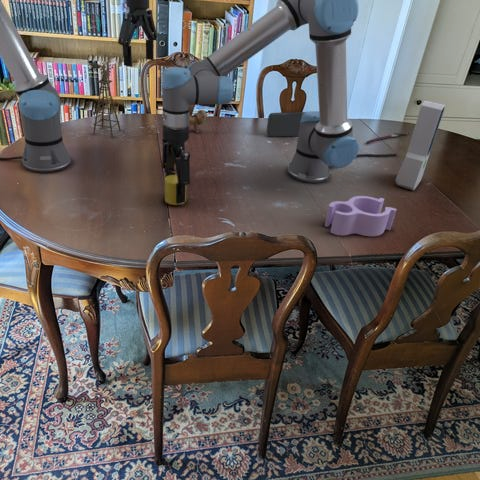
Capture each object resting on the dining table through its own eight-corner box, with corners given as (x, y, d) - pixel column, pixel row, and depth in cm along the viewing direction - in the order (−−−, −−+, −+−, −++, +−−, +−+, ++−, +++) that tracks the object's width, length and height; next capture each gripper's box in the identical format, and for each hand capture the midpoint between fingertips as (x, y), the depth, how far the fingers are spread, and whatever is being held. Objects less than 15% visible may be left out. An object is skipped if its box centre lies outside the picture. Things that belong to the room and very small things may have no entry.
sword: (404, 132, 223) (404, 129, 222) (409, 134, 221) (409, 132, 220) (360, 143, 207) (361, 141, 206) (365, 146, 205) (366, 143, 204)
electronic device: (413, 191, 168) (440, 109, 151) (393, 185, 171) (417, 104, 154) (421, 180, 177) (448, 101, 161) (402, 174, 180) (426, 96, 164)
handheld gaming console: (312, 133, 210) (316, 111, 205) (315, 135, 208) (319, 113, 203) (265, 134, 203) (268, 112, 198) (267, 137, 201) (270, 114, 196)
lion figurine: (203, 128, 203) (204, 107, 198) (207, 132, 199) (208, 111, 194) (170, 129, 198) (170, 108, 193) (173, 133, 194) (173, 112, 189)
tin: (188, 196, 148) (188, 176, 144) (183, 206, 142) (183, 185, 138) (167, 193, 148) (167, 173, 144) (162, 203, 143) (162, 182, 139)
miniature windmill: (112, 137, 184) (107, 58, 168) (92, 134, 185) (85, 54, 169) (121, 130, 192) (117, 53, 176) (102, 127, 193) (96, 50, 177)
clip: (337, 240, 135) (342, 219, 131) (318, 218, 145) (322, 198, 141) (395, 233, 141) (402, 213, 137) (373, 213, 151) (378, 194, 147)
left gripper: (124, -2, 141) (127, 70, 153) (167, -6, 161) (166, 58, 172) (104, -5, 143) (108, 66, 155) (148, -9, 163) (149, 55, 175)
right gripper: (149, 115, 137) (151, 186, 150) (179, 139, 124) (178, 214, 136) (172, 113, 141) (172, 182, 153) (204, 135, 127) (201, 208, 140)
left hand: (139, 62), depth 164 cm, fingers open, 13 cm apart
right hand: (175, 197), depth 145 cm, fingers closed on tin, 7 cm apart
